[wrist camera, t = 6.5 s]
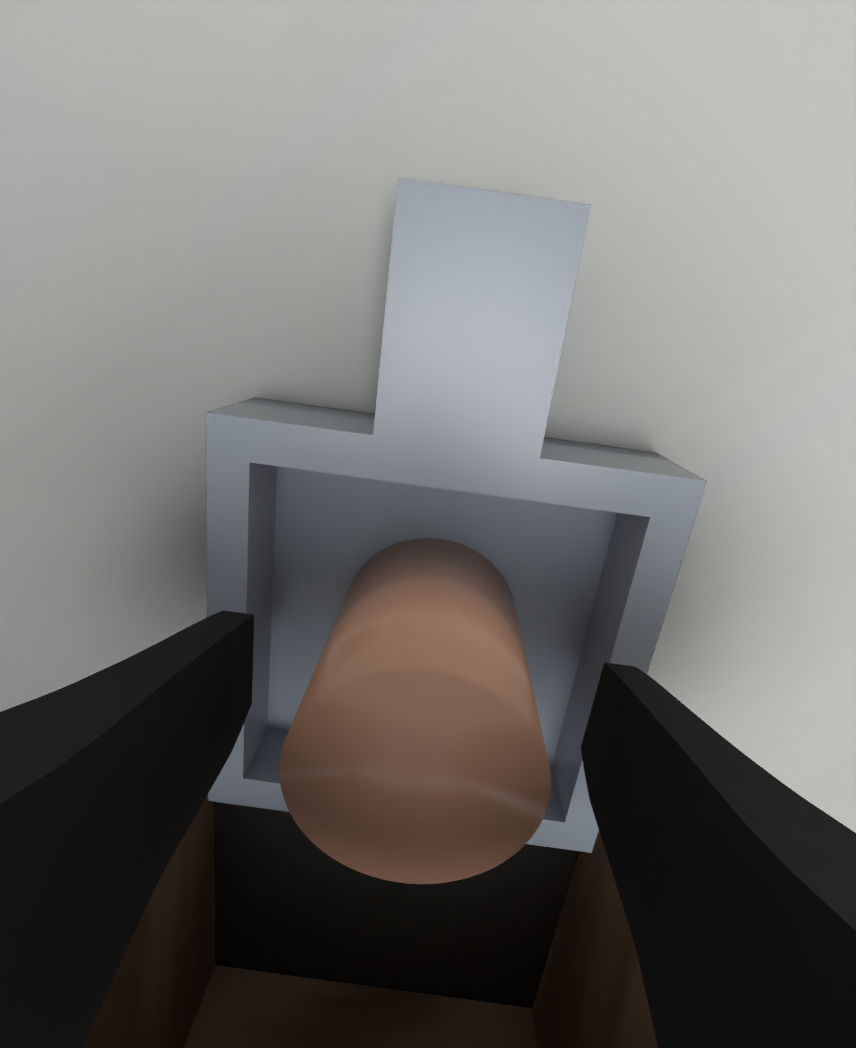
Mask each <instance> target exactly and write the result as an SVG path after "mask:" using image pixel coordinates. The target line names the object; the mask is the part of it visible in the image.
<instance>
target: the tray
mask: <svg viewBox="0 0 856 1048" xmlns="http://www.w3.org/2000/svg"><path fill="white" fill-rule="evenodd" d="M590 206H591V204H584V203H577V202H569V201H562V200H555V199H548V198H540V197H533V196H526V195H519V194H511V193H504V192H497V191H489V190H482V189H475V188H468V187H460V186H453V185H446V184H439V183H431V182H424V181H417V180H410V179H402V178H398V179H397V190H396V200H395V210H394V221H393V231H392V242H391V252H390V263H389V273H388V283H387V294H386V304H385V315H384V325H383V336H382V346H381V356H380V367H379V377H378V388H377V398H376V409H375V414H369V413H362V412H354V411H347V410H340V409H332V408H325V407H318V406H311V405H303V404H296V403H289V402H281V401H274V400H267V399H259V398H252V399H249V400H246V401H242V402H239V403H236V404H232V405H229V406H226V407H222V408H219V409H216V410H213V411H209V412H206V511H207V617H209V616H211V615H213V614H216V613H218V612H220V611H223V610H224V611H231V612H239V613H246V614H253V615H254V645H253V683H252V704H251V707H250V709H249V712H248V714H247V717H246V719H245V722H244V724H243V727H242V729H241V732H240V734H239V736H238V739H237V741H236V743H235V746H234V748H233V750H232V752H231V754H230V756H229V758H228V760H227V761H226V763H225V765H224V767H223V768H222V770H221V772H220V774H219V776H218V777H217V779H216V781H215V783H214V784H213V786H212V788H211V790H210V791H209V793H208V801H213V802H220V803H228V804H235V805H243V806H250V807H257V808H265V809H272V810H279V811H287V812H289V810H288V808H287V805H286V803H285V801H284V798H283V794H282V790H281V786H280V776H279V766H280V756H281V752H282V748H283V744H284V741H285V739H286V737H287V734H288V732H289V729H290V727H291V725H292V722H293V720H294V718H295V715H296V713H297V710H298V708H299V706H300V703H301V701H302V699H303V696H304V694H305V691H306V689H307V687H308V684H309V682H310V680H311V677H312V675H313V672H314V670H315V668H316V665H317V663H318V661H319V658H320V656H321V653H322V651H323V649H324V646H325V644H326V642H327V639H328V637H329V634H330V632H331V630H332V627H333V625H334V623H335V620H336V618H337V615H338V613H339V611H340V608H341V606H342V604H343V601H344V599H345V596H346V594H347V592H348V589H349V587H350V585H351V582H352V580H353V579H354V577H355V575H356V574H357V572H358V571H359V570H360V568H361V567H362V566H363V565H364V564H365V563H366V562H367V561H368V560H369V559H370V558H371V557H372V556H374V555H375V554H377V553H378V552H380V551H381V550H383V549H385V548H387V547H389V546H391V545H394V544H396V543H399V542H402V541H407V540H411V539H420V538H438V539H444V540H450V541H453V542H456V543H460V544H462V545H465V546H467V547H469V548H471V549H473V550H475V551H476V552H478V553H480V554H481V555H483V556H484V557H485V558H486V559H488V560H489V561H490V562H491V563H492V564H493V565H494V566H495V567H496V568H497V569H498V570H499V572H500V573H501V574H502V576H503V577H504V579H505V581H506V582H507V584H508V586H509V588H510V591H511V594H512V596H513V601H514V606H515V610H516V615H517V619H518V624H519V629H520V633H521V638H522V642H523V647H524V651H525V656H526V661H527V665H528V670H529V674H530V679H531V684H532V688H533V693H534V697H535V702H536V707H537V711H538V716H539V720H540V725H541V729H542V734H543V739H544V743H545V748H546V752H547V757H548V762H549V766H550V771H551V793H550V800H549V804H548V807H547V810H546V814H545V816H544V818H543V820H542V822H541V824H540V826H539V828H538V829H537V830H536V832H535V833H534V835H533V836H532V838H531V839H530V840H529V841H528V842H527V843H526V844H530V845H537V846H545V847H552V848H559V849H567V850H574V851H581V852H589V853H592V850H593V847H594V843H595V840H596V837H597V834H598V831H599V829H598V826H597V822H596V819H595V816H594V813H593V809H592V806H591V802H590V799H589V794H588V789H587V783H586V778H585V772H584V766H583V760H582V754H581V744H582V741H583V737H584V734H585V730H586V726H587V723H588V719H589V715H590V712H591V708H592V705H593V701H594V697H595V694H596V690H597V687H598V683H599V679H600V676H601V672H602V668H603V665H604V662H606V663H613V664H620V665H628V666H635V667H637V668H639V669H640V670H641V671H643V672H644V673H646V674H647V672H648V669H649V666H650V662H651V659H652V656H653V653H654V649H655V646H656V643H657V640H658V636H659V633H660V630H661V627H662V624H663V620H664V617H665V614H666V611H667V607H668V604H669V601H670V598H671V594H672V591H673V588H674V585H675V582H676V578H677V575H678V572H679V569H680V565H681V562H682V559H683V556H684V552H685V549H686V546H687V543H688V539H689V536H690V533H691V530H692V527H693V523H694V520H695V517H696V514H697V510H698V507H699V504H700V501H701V497H702V494H703V491H704V488H705V484H706V480H704V479H702V478H700V477H699V476H697V475H695V474H693V473H691V472H690V471H688V470H686V469H684V468H683V467H681V466H679V465H677V464H675V463H674V462H672V461H670V460H668V459H667V458H665V457H663V456H661V455H659V454H658V453H654V452H646V451H639V450H632V449H625V448H617V447H610V446H603V445H595V444H588V443H581V442H573V441H566V440H559V439H552V438H544V435H545V430H546V425H547V420H548V415H549V410H550V405H551V400H552V395H553V390H554V385H555V380H556V375H557V370H558V365H559V360H560V355H561V350H562V345H563V341H564V336H565V331H566V326H567V321H568V316H569V311H570V306H571V301H572V296H573V291H574V286H575V281H576V276H577V271H578V266H579V261H580V256H581V251H582V246H583V241H584V236H585V231H586V226H587V221H588V216H589V211H590Z"/></svg>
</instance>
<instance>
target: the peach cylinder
mask: <svg viewBox="0 0 856 1048" xmlns="http://www.w3.org/2000/svg"><path fill="white" fill-rule="evenodd" d="M279 776H280V786H281V790H282V794H283V798H284V801H285V803H286V805H287V808H288V810H289V812H290V814H291V816H292V817H293V819H294V821H295V822H296V824H297V825H298V827H299V828H300V829H301V830H302V832H303V833H304V834H305V835H306V836H307V837H308V838H309V839H310V840H311V841H312V842H313V843H314V844H315V845H316V846H317V847H318V848H319V849H321V850H322V851H323V852H325V853H326V854H327V855H328V856H330V857H332V858H333V859H335V860H336V861H338V862H340V863H341V864H343V865H345V866H347V867H349V868H351V869H353V870H356V871H358V872H361V873H364V874H366V875H369V876H372V877H376V878H380V879H383V880H387V881H393V882H400V883H409V884H438V883H445V882H453V881H457V880H461V879H466V878H469V877H472V876H475V875H478V874H481V873H484V872H486V871H488V870H490V869H492V868H494V867H496V866H498V865H500V864H501V863H503V862H504V861H506V860H508V859H509V858H511V857H512V856H513V855H514V854H515V853H517V852H518V851H519V850H520V849H521V848H522V847H523V846H524V845H525V844H526V843H527V842H528V841H529V840H530V839H531V838H532V836H533V835H534V833H535V832H536V830H537V829H538V828H539V826H540V824H541V822H542V820H543V818H544V816H545V814H546V810H547V807H548V804H549V800H550V793H551V771H550V766H549V762H548V757H547V752H546V748H545V743H544V739H543V734H542V729H541V725H540V720H539V716H538V711H537V707H536V702H535V697H534V693H533V688H532V684H531V679H530V674H529V670H528V665H527V661H526V656H525V651H524V647H523V642H522V638H521V633H520V629H519V624H518V619H517V615H516V610H515V606H514V601H513V596H512V594H511V591H510V588H509V586H508V584H507V582H506V581H505V579H504V577H503V576H502V574H501V573H500V572H499V570H498V569H497V568H496V567H495V566H494V565H493V564H492V563H491V562H490V561H489V560H488V559H486V558H485V557H484V556H483V555H481V554H480V553H478V552H476V551H475V550H473V549H471V548H469V547H467V546H465V545H462V544H460V543H456V542H453V541H450V540H444V539H438V538H420V539H411V540H407V541H402V542H399V543H396V544H394V545H391V546H389V547H387V548H385V549H383V550H381V551H380V552H378V553H377V554H375V555H374V556H372V557H371V558H370V559H369V560H368V561H367V562H366V563H365V564H364V565H363V566H362V567H361V568H360V570H359V571H358V572H357V574H356V575H355V577H354V579H353V580H352V582H351V585H350V587H349V589H348V592H347V594H346V596H345V599H344V601H343V604H342V606H341V608H340V611H339V613H338V615H337V618H336V620H335V623H334V625H333V627H332V630H331V632H330V634H329V637H328V639H327V642H326V644H325V646H324V649H323V651H322V653H321V656H320V658H319V661H318V663H317V665H316V668H315V670H314V672H313V675H312V677H311V680H310V682H309V684H308V687H307V689H306V691H305V694H304V696H303V699H302V701H301V703H300V706H299V708H298V710H297V713H296V715H295V718H294V720H293V722H292V725H291V727H290V729H289V732H288V734H287V737H286V739H285V741H284V744H283V748H282V752H281V756H280V766H279Z"/></svg>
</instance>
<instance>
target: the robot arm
mask: <svg viewBox="0 0 856 1048" xmlns="http://www.w3.org/2000/svg"><path fill="white" fill-rule="evenodd" d="M253 645H254V615H253V614H246V613H239V612H231V611H224V610H223V611H220V612H218V613H216V614H213V615H211V616H209V617H207V618H205V619H203V620H201V621H199V622H197V623H195V624H193V625H192V626H190V627H188V628H186V629H184V630H182V631H180V632H178V633H176V634H174V635H172V636H171V637H169V638H167V639H165V640H163V641H161V642H159V643H157V644H155V645H153V646H151V647H149V648H147V649H145V650H143V651H141V652H139V653H137V654H135V655H133V656H131V657H129V658H127V659H125V660H123V661H121V662H119V663H116V664H114V665H112V666H110V667H108V668H106V669H104V670H101V671H99V672H97V673H95V674H93V675H91V676H88V677H86V678H84V679H82V680H80V681H78V682H76V683H73V684H71V685H68V686H66V687H64V688H61V689H59V690H57V691H54V692H52V693H49V694H47V695H44V696H42V697H39V698H37V699H34V700H31V701H29V702H26V703H23V704H21V705H18V706H15V707H13V708H10V709H7V710H5V711H2V712H0V1048H83V1047H84V1045H85V1042H86V1040H87V1038H88V1035H89V1033H90V1031H91V1028H92V1026H93V1024H94V1022H95V1019H96V1017H97V1015H98V1013H99V1010H100V1008H101V1006H102V1004H103V1001H104V999H105V997H106V994H107V992H108V990H109V988H110V985H111V983H112V981H113V979H114V976H115V974H116V972H117V969H118V967H119V965H120V963H121V960H122V958H123V956H124V954H125V952H126V949H127V947H128V945H129V943H130V941H131V939H132V936H133V934H134V932H135V930H136V928H137V926H138V923H139V921H140V919H141V917H142V915H143V913H144V910H145V908H146V906H147V904H148V902H149V900H150V897H151V895H152V893H153V891H154V889H155V887H156V885H157V883H158V882H159V880H160V878H161V876H162V874H163V872H164V870H165V868H166V866H167V864H168V863H169V861H170V859H171V857H172V856H173V854H174V852H175V850H176V849H177V847H178V845H179V844H180V842H181V840H182V838H183V837H184V835H185V833H186V831H187V830H188V828H189V826H190V824H191V823H192V821H193V819H194V817H195V816H196V814H197V812H198V810H199V809H200V807H201V805H202V804H203V802H204V800H205V798H206V797H207V795H208V793H209V791H210V790H211V788H212V786H213V784H214V783H215V781H216V779H217V777H218V776H219V774H220V772H221V770H222V768H223V767H224V765H225V763H226V761H227V760H228V758H229V756H230V754H231V752H232V750H233V748H234V746H235V743H236V741H237V739H238V736H239V734H240V732H241V729H242V727H243V724H244V722H245V719H246V717H247V714H248V712H249V709H250V707H251V704H252V683H253ZM581 754H582V760H583V766H584V772H585V778H586V783H587V789H588V794H589V799H590V802H591V806H592V809H593V813H594V816H595V819H596V822H597V826H598V829H599V832H600V835H601V839H602V842H603V845H604V848H605V851H606V854H607V858H608V861H609V864H610V867H611V870H612V873H613V876H614V880H615V883H616V886H617V889H618V892H619V895H620V899H621V902H622V905H623V908H624V911H625V914H626V917H627V921H628V924H629V927H630V931H631V934H632V938H633V941H634V945H635V949H636V952H637V956H638V960H639V964H640V969H641V973H642V978H643V982H644V987H645V992H646V996H647V1001H648V1005H649V1010H650V1014H651V1019H652V1023H653V1028H654V1033H655V1038H656V1043H657V1048H856V833H855V832H853V831H852V830H850V829H849V828H847V827H846V826H844V825H843V824H841V823H840V822H838V821H837V820H835V819H834V818H832V817H831V816H829V815H828V814H826V813H825V812H823V811H822V810H820V809H819V808H817V807H816V806H814V805H813V804H811V803H810V802H808V801H807V800H805V799H804V798H802V797H801V796H800V795H798V794H797V793H795V792H794V791H793V790H791V789H790V788H788V787H787V786H786V785H784V784H783V783H781V782H780V781H779V780H777V779H776V778H775V777H773V776H772V775H771V774H770V773H768V772H767V771H766V770H764V769H763V768H762V767H760V766H759V765H758V764H756V763H755V762H754V761H752V760H751V759H750V758H748V757H747V756H746V755H744V754H743V753H742V752H741V751H739V750H738V749H737V748H736V747H734V746H733V745H732V744H731V743H729V742H728V741H727V740H726V739H724V738H723V737H722V736H721V735H719V734H718V733H717V732H716V731H715V730H713V729H712V728H711V727H710V726H709V725H707V724H706V723H705V722H704V721H702V720H701V719H700V718H699V717H698V716H696V715H695V714H694V713H693V712H692V711H691V710H689V709H688V708H687V707H686V706H685V705H683V704H682V703H681V702H680V701H679V700H677V699H676V698H675V697H674V696H673V695H672V694H670V693H669V692H668V691H667V690H666V689H664V688H663V687H662V686H661V685H659V684H658V683H657V682H656V681H655V680H653V679H652V678H651V677H649V676H648V675H647V674H646V673H644V672H643V671H641V670H640V669H639V668H637V667H635V666H628V665H620V664H613V663H606V662H604V665H603V668H602V672H601V676H600V679H599V683H598V687H597V690H596V694H595V697H594V701H593V705H592V708H591V712H590V715H589V719H588V723H587V726H586V730H585V734H584V737H583V741H582V744H581Z"/></svg>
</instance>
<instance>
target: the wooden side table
mask: <svg viewBox="0 0 856 1048" xmlns="http://www.w3.org/2000/svg"><path fill="white" fill-rule="evenodd" d="M83 1048H657V1043H656V1038H655V1033H654V1028H653V1023H652V1019H651V1014H650V1010H649V1005H648V1001H647V996H646V992H645V987H644V982H643V978H642V973H641V969H640V964H639V960H638V956H637V952H636V949H635V945H634V941H633V938H632V934H631V931H630V927H629V924H628V921H627V917H626V914H625V911H624V908H623V905H622V902H621V899H620V895H619V892H618V889H617V886H616V883H615V880H614V876H613V873H612V870H611V867H610V864H609V861H608V858H607V854H606V851H605V848H604V845H603V842H602V839H601V835H600V832H599V831H598V834H597V837H596V840H595V843H594V847H593V850H592V853H589V852H581V851H579V854H578V858H577V861H576V864H575V868H574V871H573V874H572V878H571V881H570V884H569V888H568V891H567V895H566V898H565V901H564V905H563V908H562V911H561V915H560V918H559V921H558V925H557V928H556V931H555V935H554V938H553V941H552V945H551V948H550V951H549V955H548V958H547V961H546V965H545V968H544V972H543V975H542V978H541V982H540V985H539V988H538V992H537V995H536V998H535V1002H534V1005H533V1008H527V1007H519V1006H512V1005H504V1004H497V1003H490V1002H482V1001H475V1000H468V999H460V998H453V997H445V996H438V995H431V994H423V993H416V992H408V991H401V990H394V989H386V988H379V987H371V986H364V985H357V984H349V983H342V982H334V981H327V980H320V979H312V978H305V977H297V976H290V975H283V974H275V973H268V972H260V971H253V970H246V969H238V968H231V967H224V966H216V965H215V802H213V801H208V795H207V797H206V798H205V800H204V802H203V804H202V805H201V807H200V809H199V810H198V812H197V814H196V816H195V817H194V819H193V821H192V823H191V824H190V826H189V828H188V830H187V831H186V833H185V835H184V837H183V838H182V840H181V842H180V844H179V845H178V847H177V849H176V850H175V852H174V854H173V856H172V857H171V859H170V861H169V863H168V864H167V866H166V868H165V870H164V872H163V874H162V876H161V878H160V880H159V882H158V883H157V885H156V887H155V889H154V891H153V893H152V895H151V897H150V900H149V902H148V904H147V906H146V908H145V910H144V913H143V915H142V917H141V919H140V921H139V923H138V926H137V928H136V930H135V932H134V934H133V936H132V939H131V941H130V943H129V945H128V947H127V949H126V952H125V954H124V956H123V958H122V960H121V963H120V965H119V967H118V969H117V972H116V974H115V976H114V979H113V981H112V983H111V985H110V988H109V990H108V992H107V994H106V997H105V999H104V1001H103V1004H102V1006H101V1008H100V1010H99V1013H98V1015H97V1017H96V1019H95V1022H94V1024H93V1026H92V1028H91V1031H90V1033H89V1035H88V1038H87V1040H86V1042H85V1045H84V1047H83Z"/></svg>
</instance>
